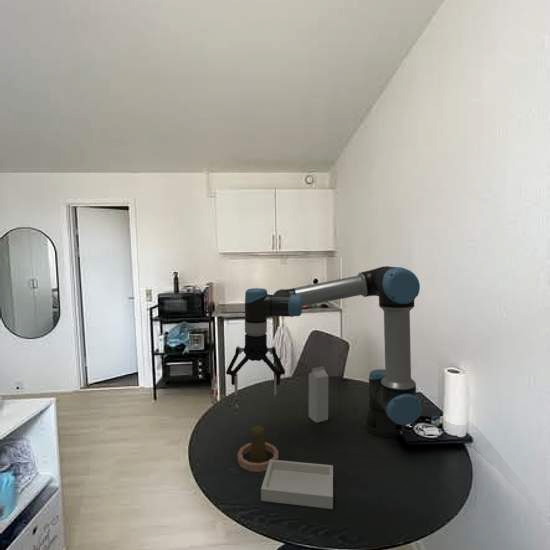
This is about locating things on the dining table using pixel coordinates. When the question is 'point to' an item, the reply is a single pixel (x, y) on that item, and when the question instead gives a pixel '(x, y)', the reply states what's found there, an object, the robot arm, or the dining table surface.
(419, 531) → the dining table surface
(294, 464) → the tray
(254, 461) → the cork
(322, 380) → the milk
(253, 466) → the ring
